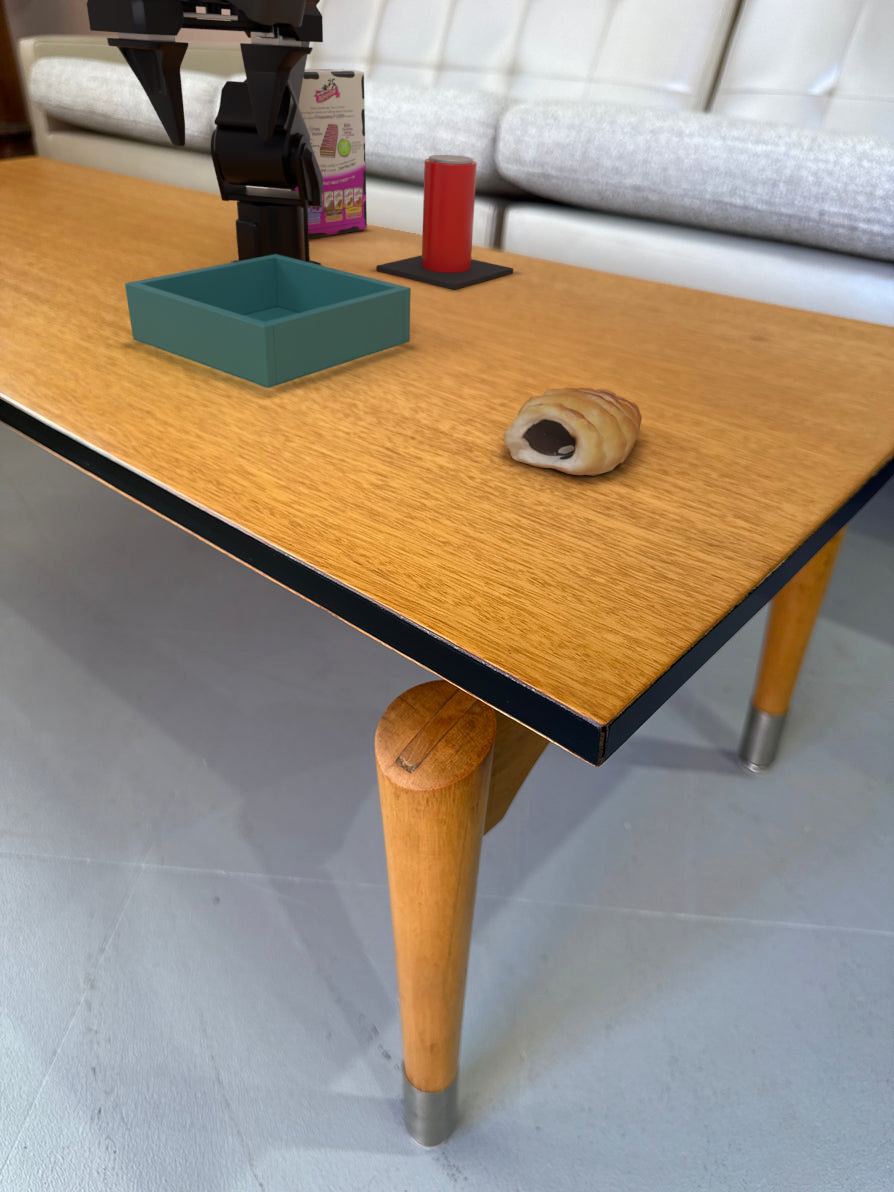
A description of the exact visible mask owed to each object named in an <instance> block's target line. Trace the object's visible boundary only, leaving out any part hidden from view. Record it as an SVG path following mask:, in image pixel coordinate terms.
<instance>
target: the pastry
mask: <svg viewBox="0 0 894 1192" xmlns="http://www.w3.org/2000/svg"><path fill="white" fill-rule="evenodd" d="M642 418H643V417H642V414H641V411H640V408H639V406H638V405H637V404H636V403H635V402H633V401H630V400H628V399H626V398H624V397H623V396H619V395H617V394H616V393H615V392H613V391H610V390H608V389H604V388H598V389H597V388H596V389H595V388H591V387H586V388H585V387H578V388H574V387H563V388H551V389H546V390H545V391H544V392H543V393H542V395H535V396H531V397H530V398H529V399H528V400H526V401H525V402H524V403H523V404H522V406H521V407H520V408H519V410H518V413H517V416H516V417H515V418H514V420H513V422H512V423H511V425H510V426H509V428H507V429H506V430H505V431H504V433H503V442H504V445H505V446H506V448H507V449H508V450H509V452H510V457H511V458H512V459H513V460H515V461H516V462H518V463H519V462H520V463H523V464H527V465H529V466H532V467H534V468H535V467H536V468H545V469H554V470H557V471H559V472H562V473H565V474H568V475H574V476H584V475H586V476H592V477H595V476H597V475H598V476H599V475H601V474H604V473H608V472H612V471H613V470H614V469H615V468H616V467H617V466H618V465H619V464H621V465H622V464H623V463H624V461H626V459H627V457H628V456H629V455H630V453H631V451H632V450H633V447H634V446H635V443H636V441H637V439H638V437H639V435H640V431H641V423H642Z"/></svg>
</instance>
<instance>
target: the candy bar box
mask: <svg viewBox="0 0 894 1192" xmlns="http://www.w3.org/2000/svg"><path fill="white" fill-rule="evenodd" d="M365 106H366V105H365V71H361V70H355V69H343V68H338V69H337V68H336V69H335V68H333V69H332V68H305V71H304V77H303V82H302V87H301V93H300V98H299V108H300V111H301V113H302V116H303V118H304V121H305V123H306V126H307V128H308V131H309V134H310V143H311V146H312V149H313V151H314V154H315V157H316V160H317V163H318V165H319V168H320V171H321V174H322V176H323V194H322V205H321V206H310V207H308V230H309V239H316V238H321V237H327V236H333V235H339V234H346V233H351V232H352V233H353V232H358V231H364V230H367V229H368V224H367V223H368V221H367V220H368V219H367V218H368V217H367V216H368V215H367V171H366V170H367V165H366V164H367V162H366V115H365V114H366V113H365V112H366V111H365ZM267 189H277V190H289V191H298V187H297V188H295V189H294V190H290V189H278V188H267Z"/></svg>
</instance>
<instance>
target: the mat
mask: <svg viewBox="0 0 894 1192" xmlns="http://www.w3.org/2000/svg"><path fill="white" fill-rule="evenodd" d="M375 268H376V269H375V270H376V271H377V272H381V273H383V274H389V275H393V276H397V277H401V278H406V279H410V280H414V281H417V282H422V283H425V284H430V285H435V286H438V287H442V288H446V289H451V290H459V289H461V288H462V289H463V288H466V287H469V286H472V285H476V284H479V283H484V282H487V281H491V280H494V279H497V278H500V277H504V276H508V275H511V274H514V268H513V267H509V266H504V265H499V264H496V263H495V264H494V263H490V262H487V261H483V260H482V261H481V260H478V259H473V258H471V268H470V270H468V271H465V272H458V273H443V272H435V271H430V270H427V269H424V268H423V267H422V254H421V255H417V256H413V257H408V258H404V259H400V260H395V261H391V262H385V263H382V264H378V265H376V267H375Z"/></svg>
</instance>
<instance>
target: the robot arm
mask: <svg viewBox="0 0 894 1192" xmlns="http://www.w3.org/2000/svg"><path fill="white" fill-rule="evenodd" d="M320 1H321V0H87V2H86V9H87V16H88V23H89V24H88V25H89V30H90V31H91V32H104V33H105V32H107V33H117V37H106V41H107V42H106V43H107V45H108V46H109V47H115V48H117V49H118V50H119V52H120V54H121V55H122V57H123V58H124V60H125V61H126V63H127V65H128V66H129V68H130V69H131V72H132V73H133V75H134V76H135V77H136V79H137V80H138V82H139V84H140V85H141V87H142V89H143V91H144V93H145V94H146V96H147V99H148V101H149V102H150V104H151V106H152V108H153V110H154V111H155V113H156V115H157V117H158V119H159V121H160V123H161V125H162V127H163V128H164V131H165V133H166V134H167V137H168V138H169V141H170V142H171V144H172V145H173V146H175V147H184V146H185V145H186V121H185V119H186V118H185V108H184V98H183V97H184V96H183V87H182V86H183V85H182V76H181V67H182V64H183V61H184V58H185V56H186V54H187V53H186V52H187V50H188V48H189V42H184V41H176V36H178V35H179V33H180V31H181V29H186V30H187V29H189V30H190V29H191V30H209V31H225V32H227V31H228V32H244V34H245V35H246V36H247V38H248V39H250V42H251V43H250V42H249V43H248V42H247V43H245V42H240V43H239V47H240V52H241V57H242V63H243V68H244V73H245V76H246V78H245V79H244V80H243V81H234V80H226V81H225V83H224V85H223V86H222V88H221V91H220V101H219V105H218V106H219V107H218V110H217V115H216V116H215V118H214V125H216V126H215V128H214V130H213V132H212V134H211V137H210V155H211V160H212V164H213V169H214V172H215V178H216V181H217V185H218V189H219V194H220V198H221V201H223V202H229V201H233V202H236V209H237V219H236V220H235V231H236V233H235V234H236V244H237V245H236V246H237V257H238V258H237V259H235V260H231V261H230V263H232V262H237V261H243V260H248V259H253V258H258V257H263V256H269V255H274V254H277V255H281V256H285V257H289V258H293V259H297V260H301V261H305V262H309V263H313V264H317V265H321V266H322V262H319V261H315V260H311V259H310V238H309V230H308V207H310V206H321V205H322V194H323V176H322V174H321V171H320V168H319V165H318V163H317V160H316V157H315V154H314V151H313V149H312V146H311V143H310V134H309V131H308V128H307V126H306V123H305V121H304V118H303V116H302V113H301V111H300V108H299V98H300V93H301V87H302V82H303V77H304V71H305V69H306V66H307V60H308V56H309V55H311V54H312V52H313V49H314V47H312V46H310V44H311V43H324V36H323V35H324V31H323V30H324V29H323V27H324V26H323V23H324V22H323V14H322V13H321V11H320V10H319V8H318V4H319V3H320ZM197 8H204V10H205V13H203V12H197ZM222 10H226V11H227V10H229V14H223V11H222ZM297 187H298V191H289V190H277V189H268V188H278V189H290V190H294V189H295V188H297Z"/></svg>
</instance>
